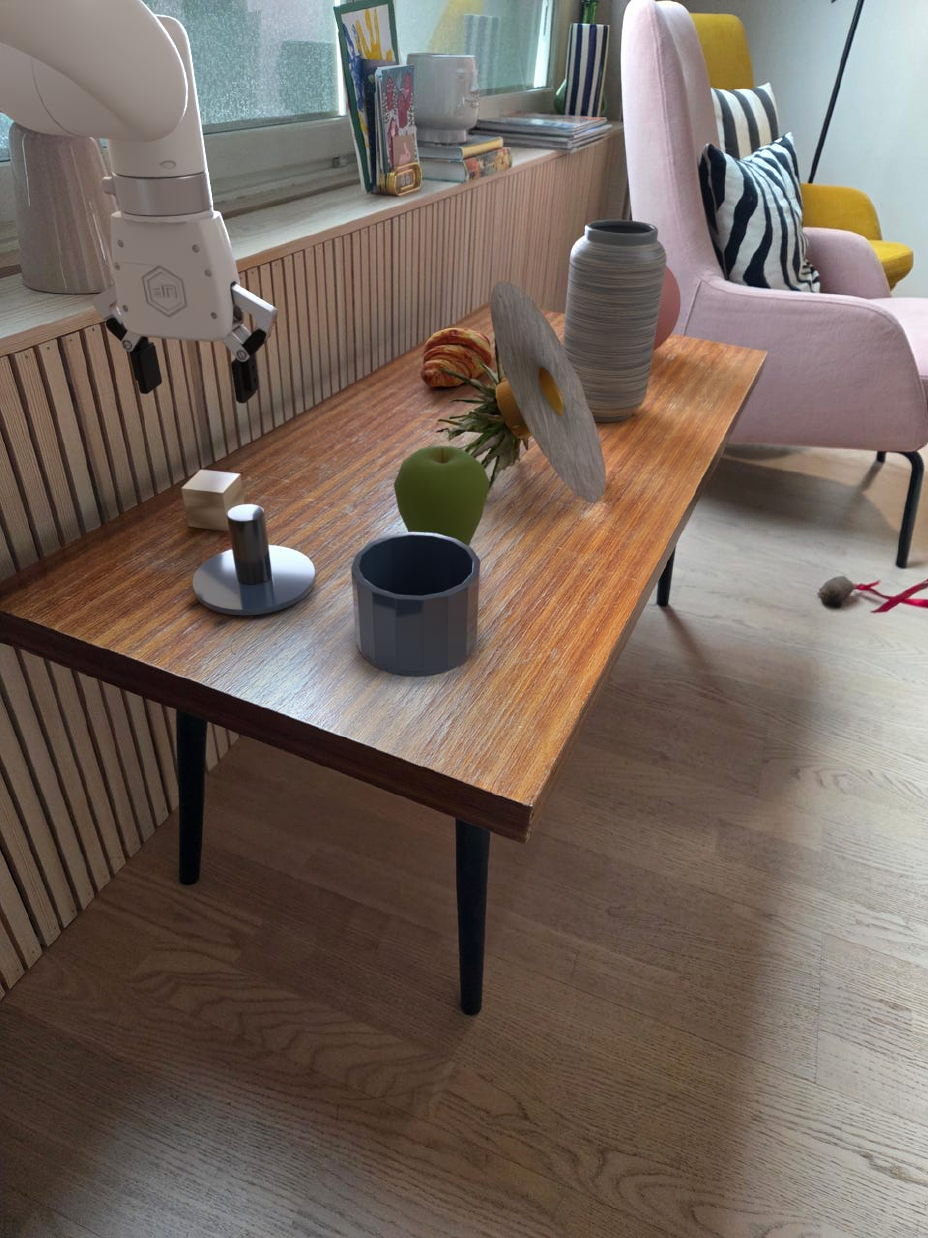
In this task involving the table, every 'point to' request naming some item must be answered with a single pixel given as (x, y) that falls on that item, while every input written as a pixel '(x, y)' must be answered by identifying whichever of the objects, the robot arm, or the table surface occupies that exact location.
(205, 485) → the block
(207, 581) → the lid
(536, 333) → the grey leafy disc
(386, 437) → the table surface
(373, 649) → the pot
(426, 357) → the croissant
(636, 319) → the vase
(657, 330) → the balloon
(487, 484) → the apple
